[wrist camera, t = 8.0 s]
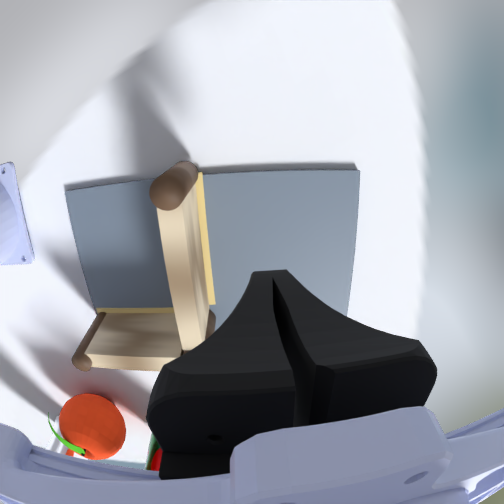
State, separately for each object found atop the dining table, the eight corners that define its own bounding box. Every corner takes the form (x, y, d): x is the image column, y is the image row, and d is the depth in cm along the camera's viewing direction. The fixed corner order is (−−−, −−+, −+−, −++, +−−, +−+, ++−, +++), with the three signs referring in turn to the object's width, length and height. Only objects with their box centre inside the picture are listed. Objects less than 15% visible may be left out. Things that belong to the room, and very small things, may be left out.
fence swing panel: (212, 306, 21) (206, 352, 17) (189, 307, 21) (178, 352, 17) (197, 159, 17) (182, 173, 13) (169, 162, 17) (147, 177, 13)
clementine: (60, 397, 27) (38, 445, 20) (67, 363, 24) (38, 418, 18) (123, 428, 29) (110, 479, 22) (140, 400, 26) (124, 459, 20)
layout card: (117, 361, 24) (115, 365, 24) (67, 187, 18) (63, 189, 17) (338, 354, 24) (340, 358, 24) (357, 166, 18) (360, 167, 18)
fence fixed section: (101, 327, 22) (77, 372, 17) (94, 308, 21) (67, 352, 17) (217, 327, 22) (212, 379, 17) (214, 307, 21) (208, 358, 17)
